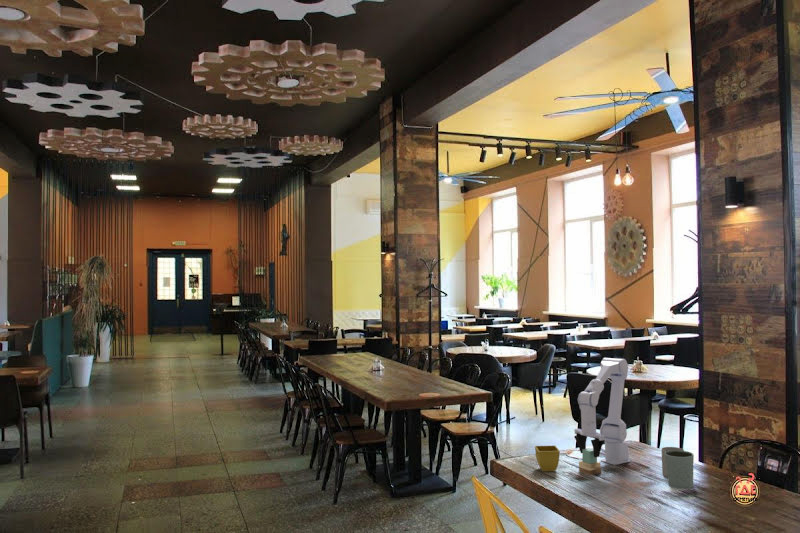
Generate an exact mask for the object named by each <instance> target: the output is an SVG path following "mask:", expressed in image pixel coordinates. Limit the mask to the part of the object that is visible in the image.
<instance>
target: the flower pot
mask: <svg viewBox="0 0 800 533" xmlns="http://www.w3.org/2000/svg"><path fill="white" fill-rule="evenodd" d="M534 449H535V458H536V463H537V464H538V466H539V468H540V470H541V471H542V472H556V470H557V469H558V465H559V462H560V453H561V452H560V449H559V448H558V447H557V446H556V445H535V446H534Z"/></svg>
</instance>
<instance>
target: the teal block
mask: <svg viewBox="0 0 800 533" xmlns="http://www.w3.org/2000/svg"><path fill="white" fill-rule="evenodd" d="M581 454H582V461H583V462H585V463H589V464H592V463H596V462H598V457H594V451H593V448H590V447H587V448H586V449H582V453H581Z"/></svg>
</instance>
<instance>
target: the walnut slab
mask: <svg viewBox="0 0 800 533" xmlns="http://www.w3.org/2000/svg"><path fill="white" fill-rule="evenodd" d="M601 468H602V467H601ZM601 468H599V469H595V470H586V469H583V468H580V467H579V466H578V472H579V473H582V474H585V475H588V476H593V475H598V474H602V473H601V472H602V471H601V470H602V469H601Z"/></svg>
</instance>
